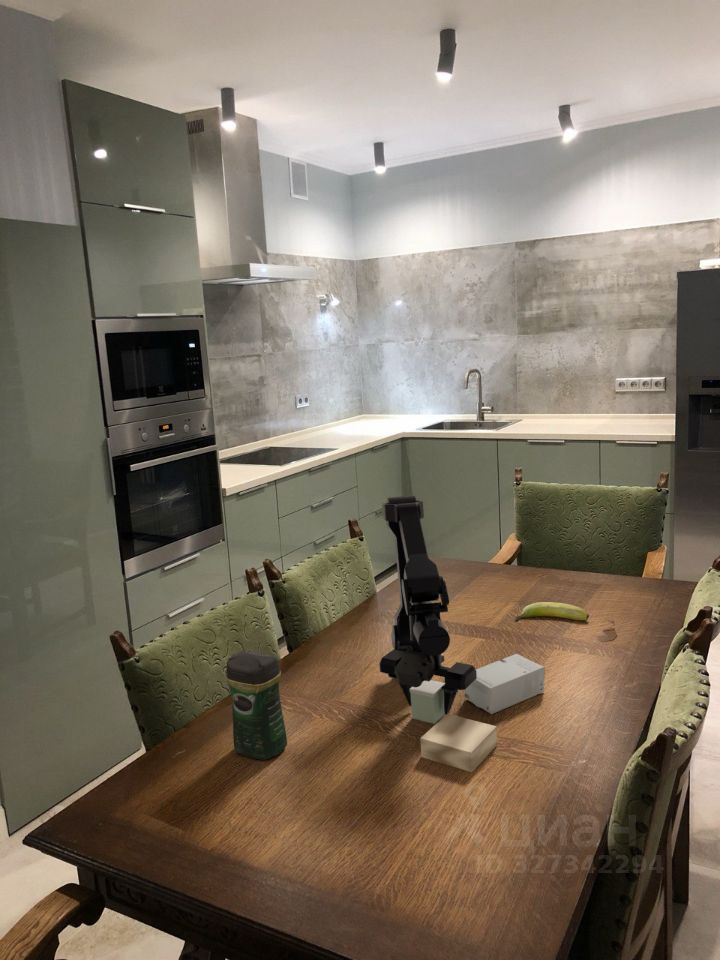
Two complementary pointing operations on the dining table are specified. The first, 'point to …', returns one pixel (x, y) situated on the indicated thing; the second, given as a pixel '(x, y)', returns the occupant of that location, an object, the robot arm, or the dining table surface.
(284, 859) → the dining table surface
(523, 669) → the skincare box
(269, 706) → the coffee jar
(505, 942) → the dining table surface
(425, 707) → the tea tin
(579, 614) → the green-yellow banana
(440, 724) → the beech box
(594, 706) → the dining table surface
